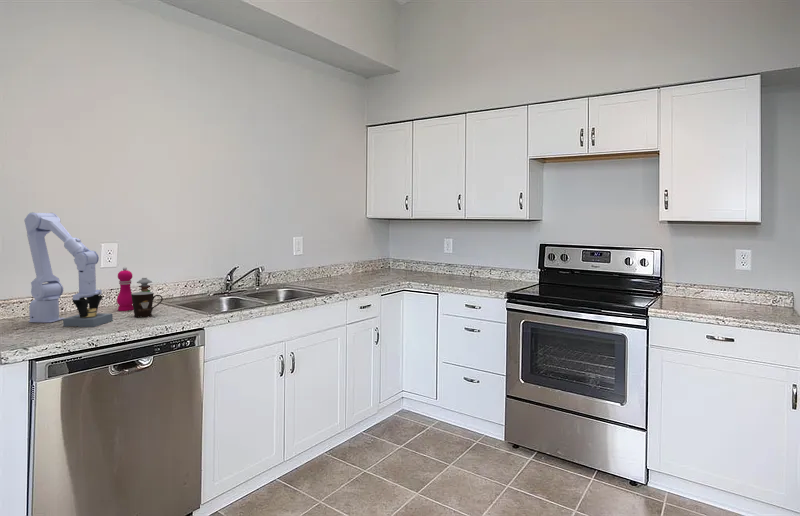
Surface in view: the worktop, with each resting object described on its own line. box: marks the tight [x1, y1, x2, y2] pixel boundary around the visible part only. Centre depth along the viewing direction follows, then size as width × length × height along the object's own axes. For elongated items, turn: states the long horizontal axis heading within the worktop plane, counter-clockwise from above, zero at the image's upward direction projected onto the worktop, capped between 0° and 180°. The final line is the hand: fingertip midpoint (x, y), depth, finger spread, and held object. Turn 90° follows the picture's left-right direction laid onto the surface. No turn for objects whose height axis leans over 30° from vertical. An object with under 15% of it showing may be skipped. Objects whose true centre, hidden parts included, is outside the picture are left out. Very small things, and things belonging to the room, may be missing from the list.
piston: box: [83, 307, 98, 318], centre depth 194 cm, size 5×5×6 cm
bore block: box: [62, 312, 114, 328], centre depth 194 cm, size 12×12×3 cm
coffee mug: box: [131, 291, 164, 318], centre depth 211 cm, size 12×9×10 cm
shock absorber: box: [136, 277, 153, 292], centre depth 224 cm, size 6×6×15 cm
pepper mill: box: [116, 266, 134, 312], centre depth 224 cm, size 7×7×20 cm
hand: (88, 315), depth 194 cm, fingers open, 6 cm apart
